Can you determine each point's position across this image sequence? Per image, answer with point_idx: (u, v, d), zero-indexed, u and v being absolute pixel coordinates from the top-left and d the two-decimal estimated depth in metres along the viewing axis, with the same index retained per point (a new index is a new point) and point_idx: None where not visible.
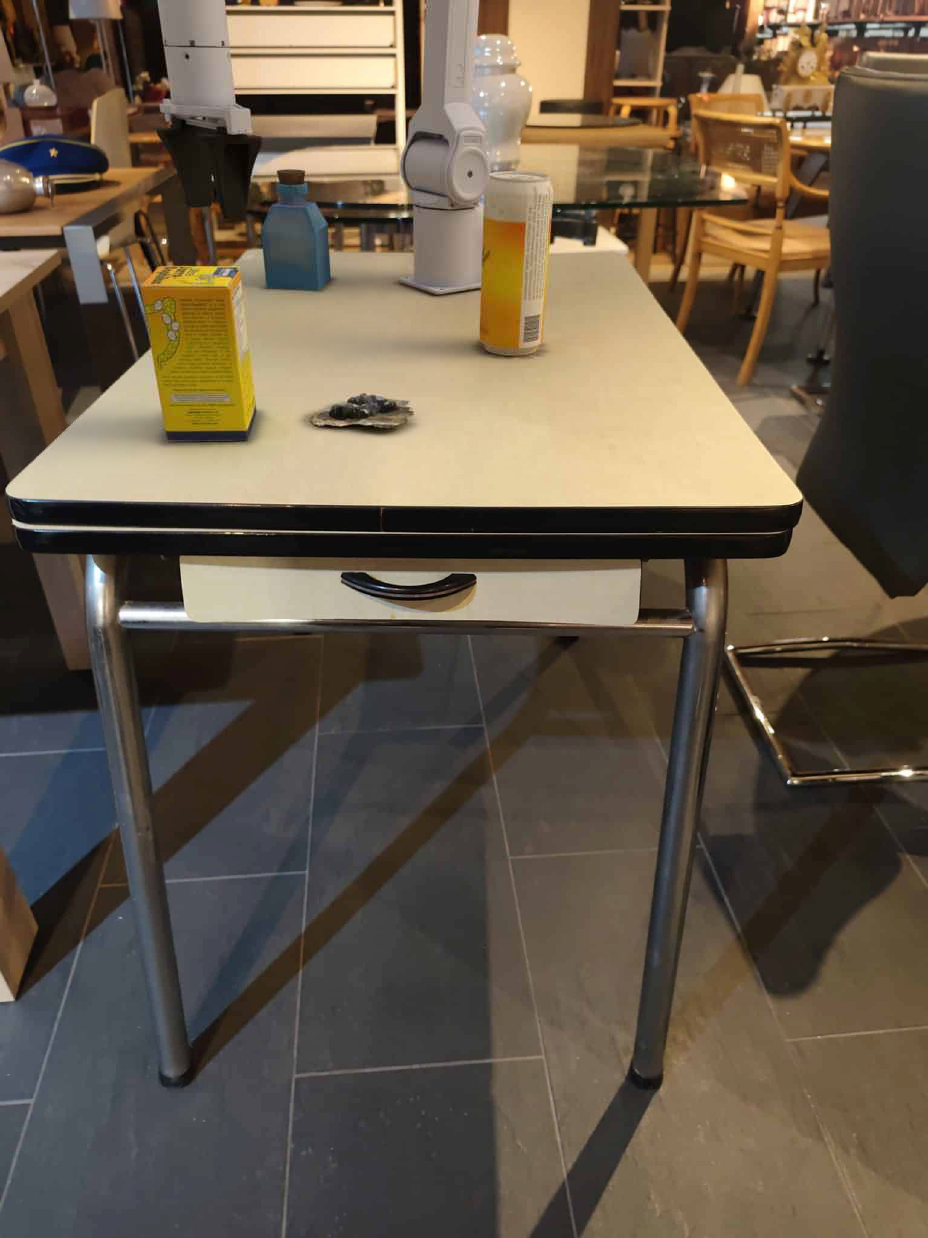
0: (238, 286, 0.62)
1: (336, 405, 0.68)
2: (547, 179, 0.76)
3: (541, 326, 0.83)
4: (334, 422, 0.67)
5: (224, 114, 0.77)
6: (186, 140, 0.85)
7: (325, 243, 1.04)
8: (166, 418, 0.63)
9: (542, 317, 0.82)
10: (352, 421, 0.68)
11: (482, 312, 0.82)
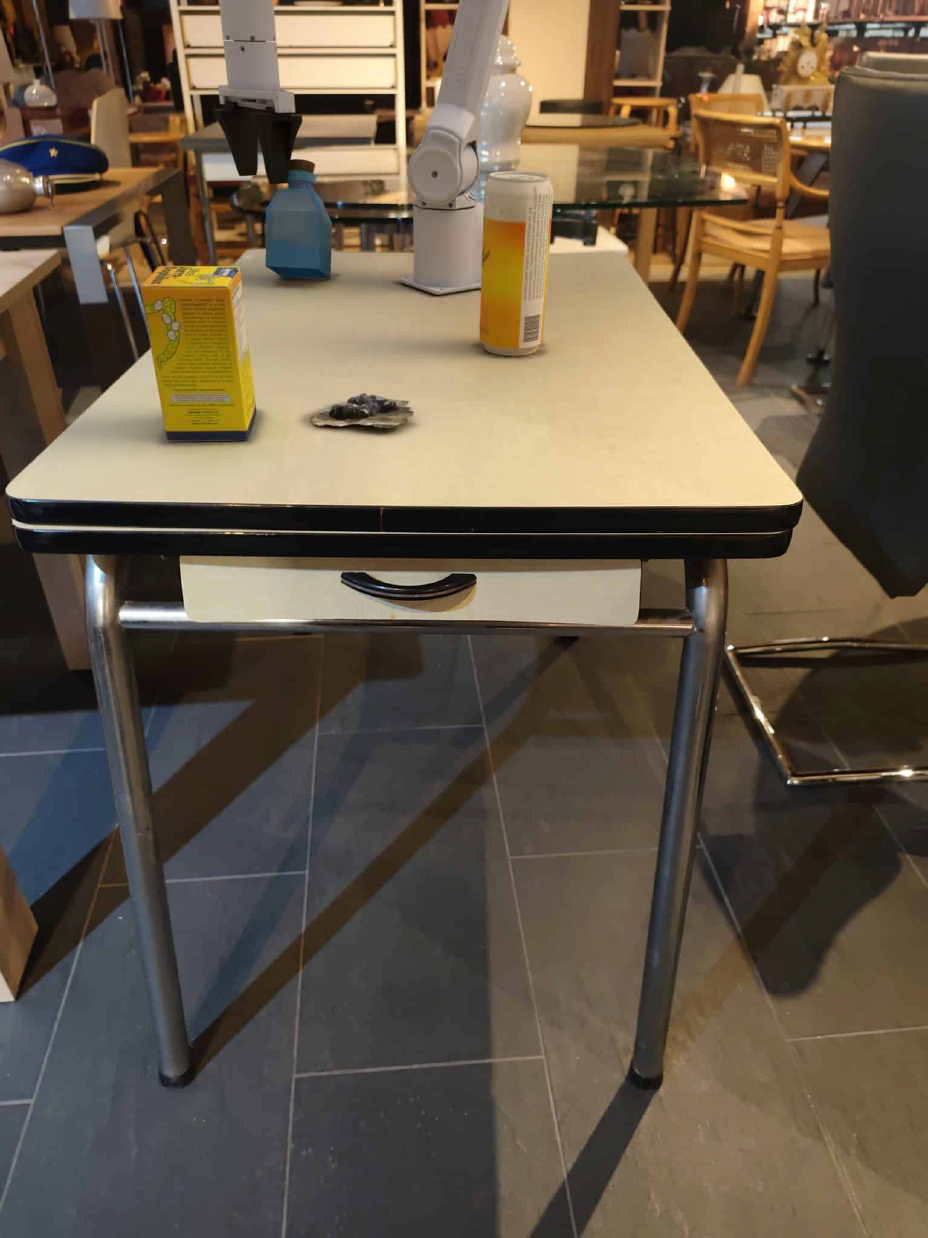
0: (238, 286, 0.62)
1: (336, 405, 0.68)
2: (547, 179, 0.76)
3: (541, 326, 0.83)
4: (334, 422, 0.67)
5: (273, 96, 0.95)
6: (237, 119, 1.03)
7: (328, 237, 1.05)
8: (166, 418, 0.63)
9: (542, 317, 0.82)
10: (352, 421, 0.68)
11: (482, 312, 0.82)
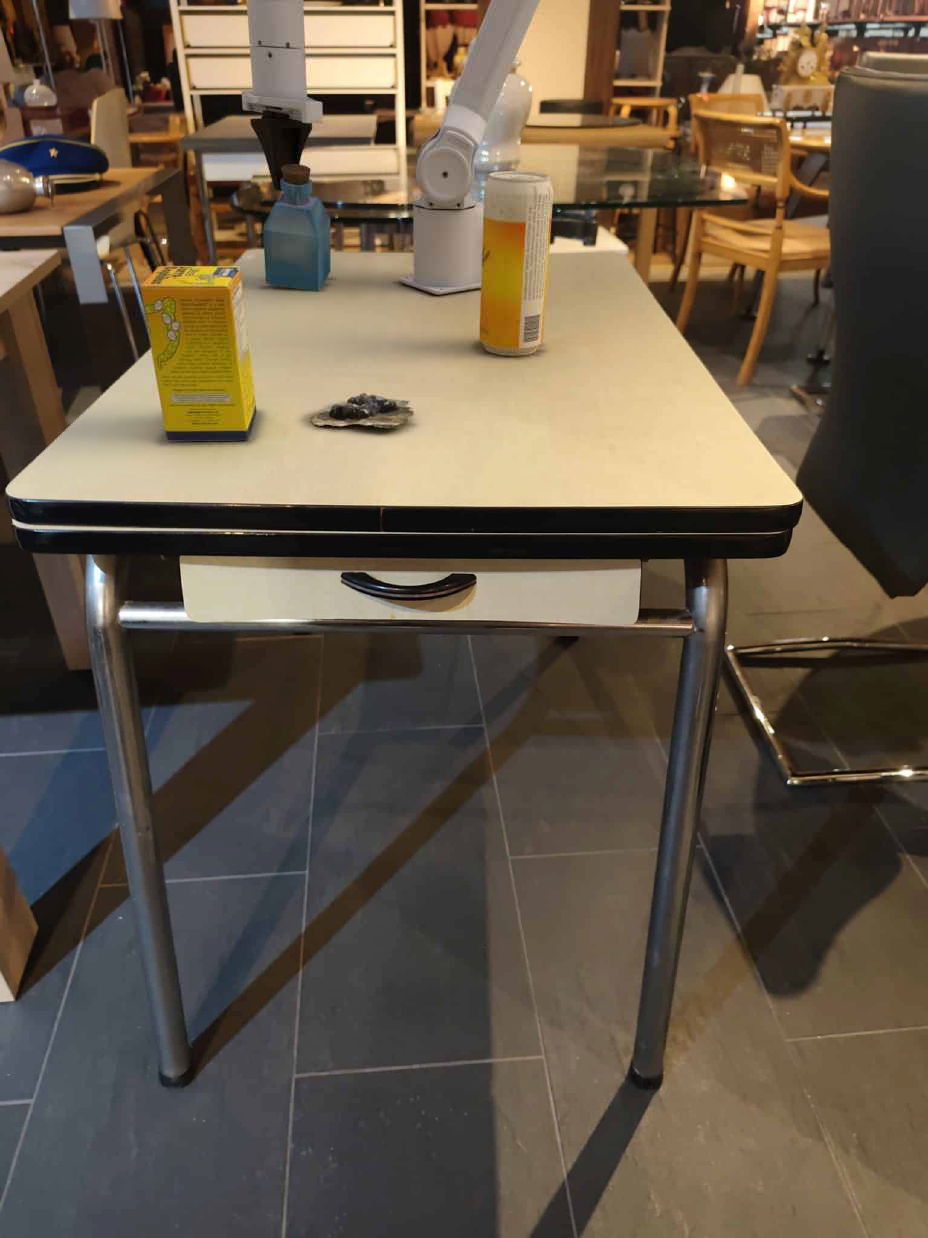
0: (238, 286, 0.62)
1: (336, 405, 0.68)
2: (547, 179, 0.76)
3: (541, 326, 0.83)
4: (334, 422, 0.67)
5: (300, 106, 0.91)
6: None
7: (327, 239, 1.03)
8: (166, 418, 0.63)
9: (542, 317, 0.82)
10: (352, 421, 0.68)
11: (482, 312, 0.82)
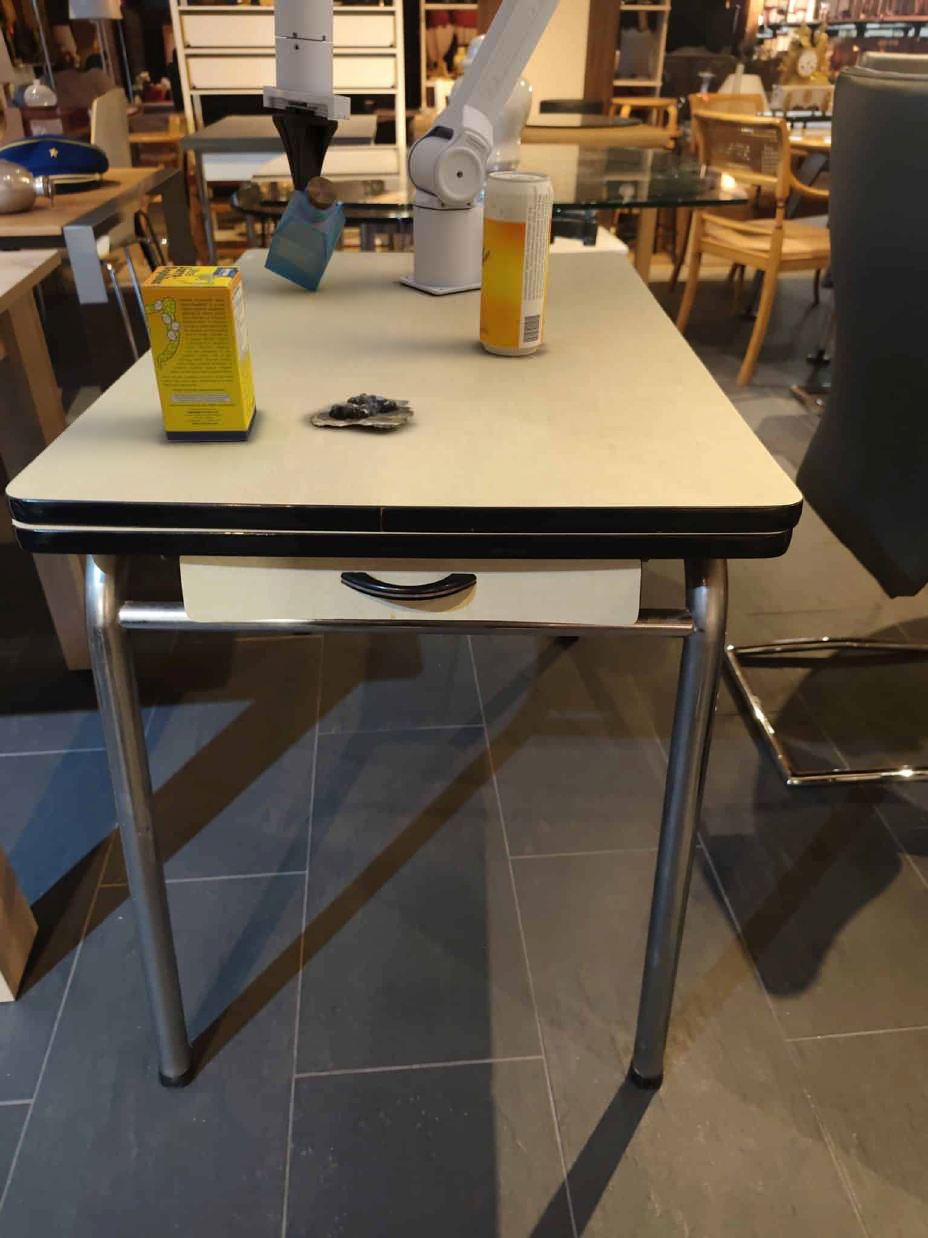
0: (238, 286, 0.62)
1: (336, 405, 0.68)
2: (547, 179, 0.76)
3: (541, 326, 0.83)
4: (334, 422, 0.67)
5: (327, 100, 0.86)
6: None
7: None
8: (166, 418, 0.63)
9: (542, 317, 0.82)
10: (352, 421, 0.68)
11: (482, 312, 0.82)
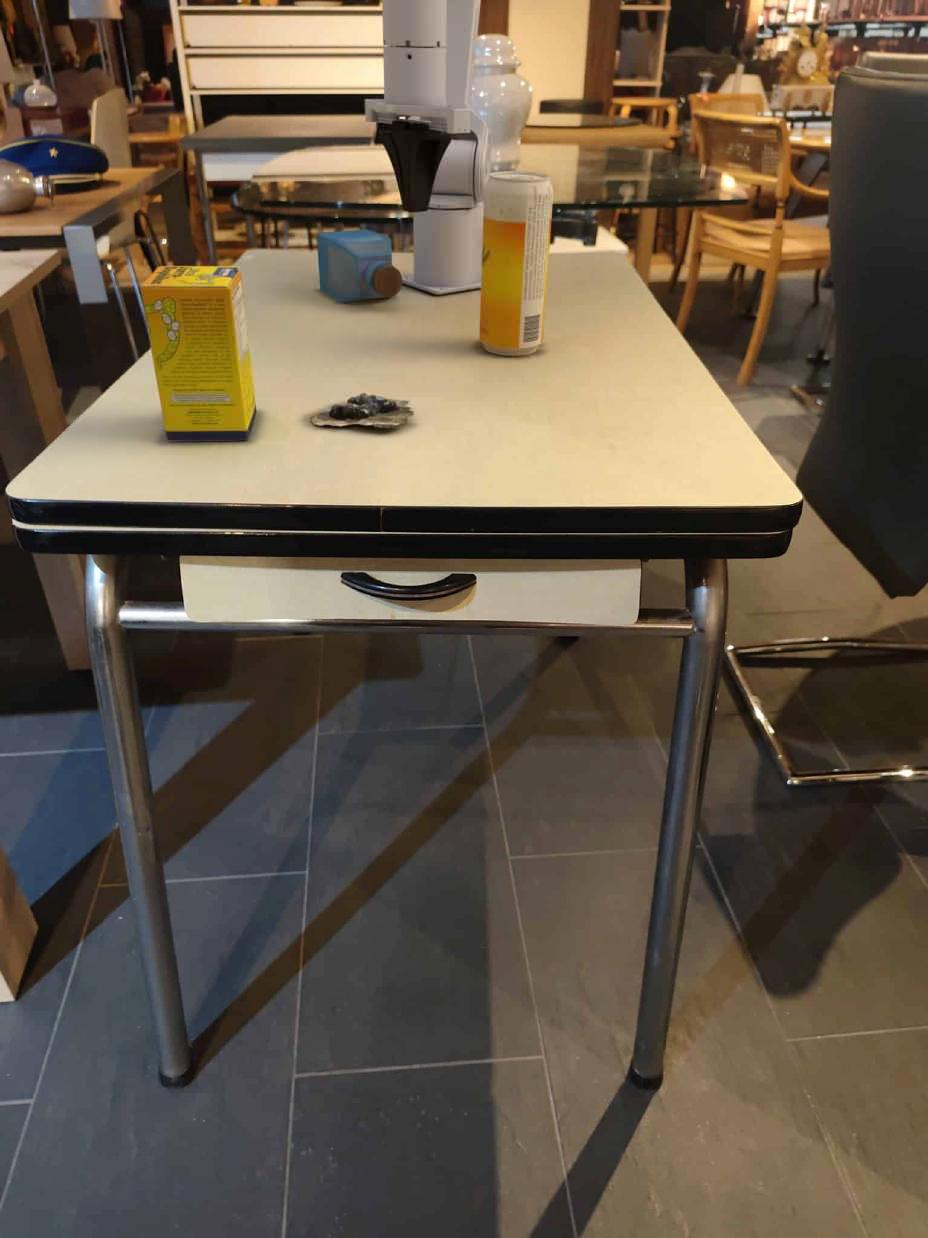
0: (238, 286, 0.62)
1: (336, 405, 0.68)
2: (547, 179, 0.76)
3: (541, 326, 0.83)
4: (334, 422, 0.67)
5: (446, 113, 0.78)
6: None
7: None
8: (166, 418, 0.63)
9: (542, 317, 0.82)
10: (352, 421, 0.68)
11: (482, 312, 0.82)
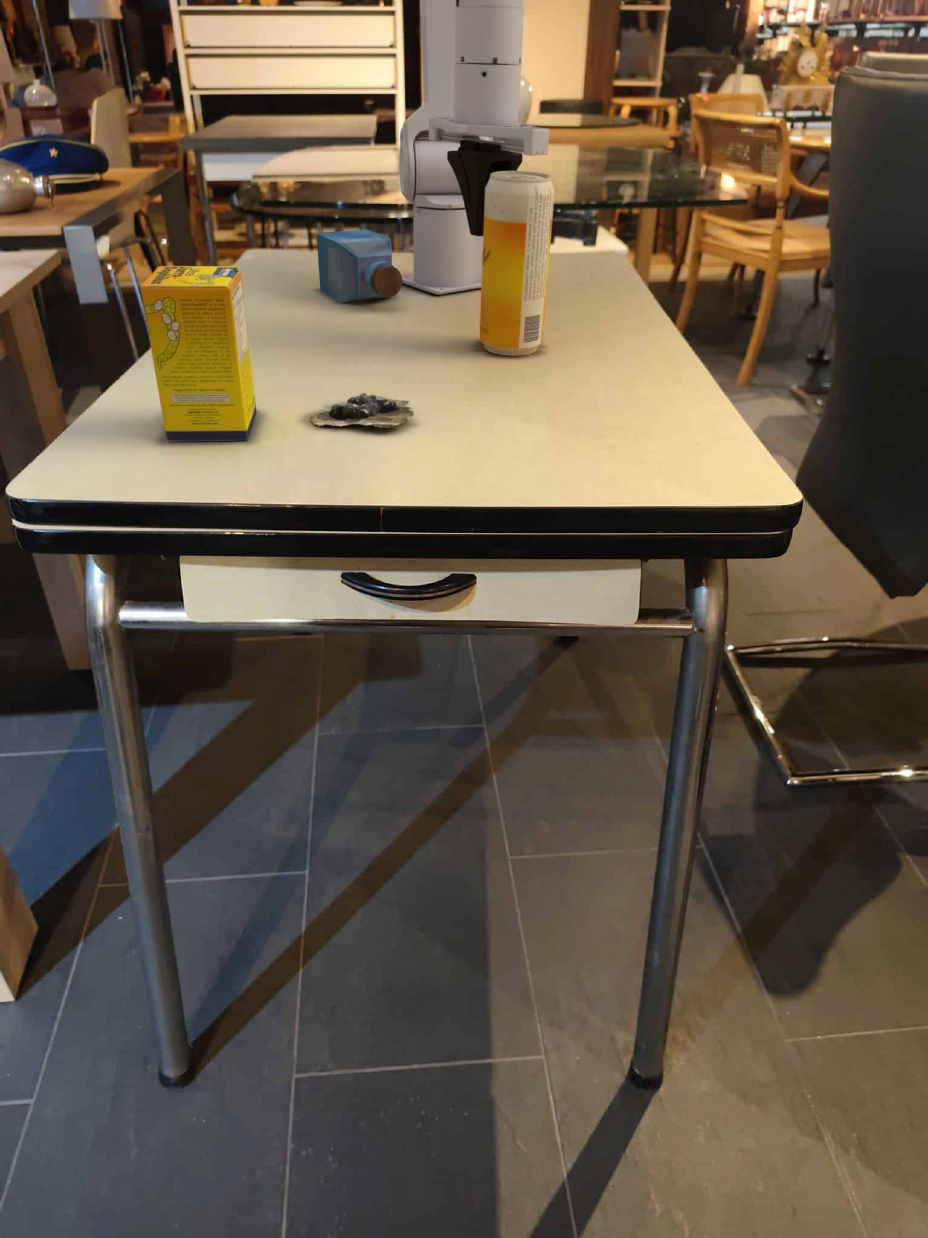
0: (238, 286, 0.62)
1: (336, 405, 0.68)
2: (548, 179, 0.76)
3: (541, 326, 0.83)
4: (334, 422, 0.67)
5: (523, 135, 0.74)
6: None
7: None
8: (166, 418, 0.63)
9: (542, 317, 0.82)
10: (352, 421, 0.68)
11: (482, 312, 0.82)
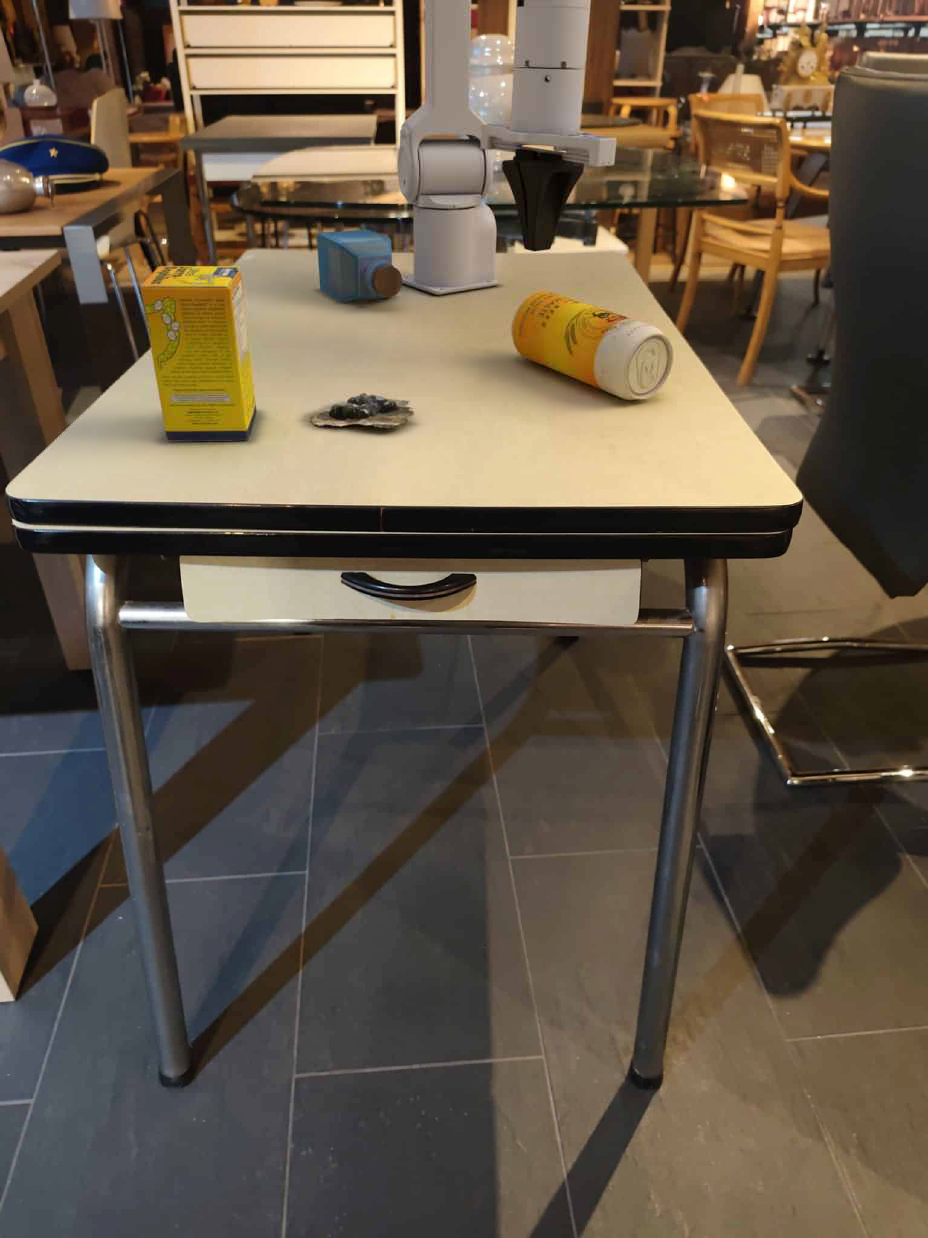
0: (238, 286, 0.62)
1: (336, 405, 0.68)
2: (655, 391, 0.73)
3: None
4: (334, 422, 0.67)
5: (589, 144, 0.69)
6: None
7: None
8: (166, 418, 0.63)
9: None
10: (352, 421, 0.68)
11: (532, 328, 0.77)
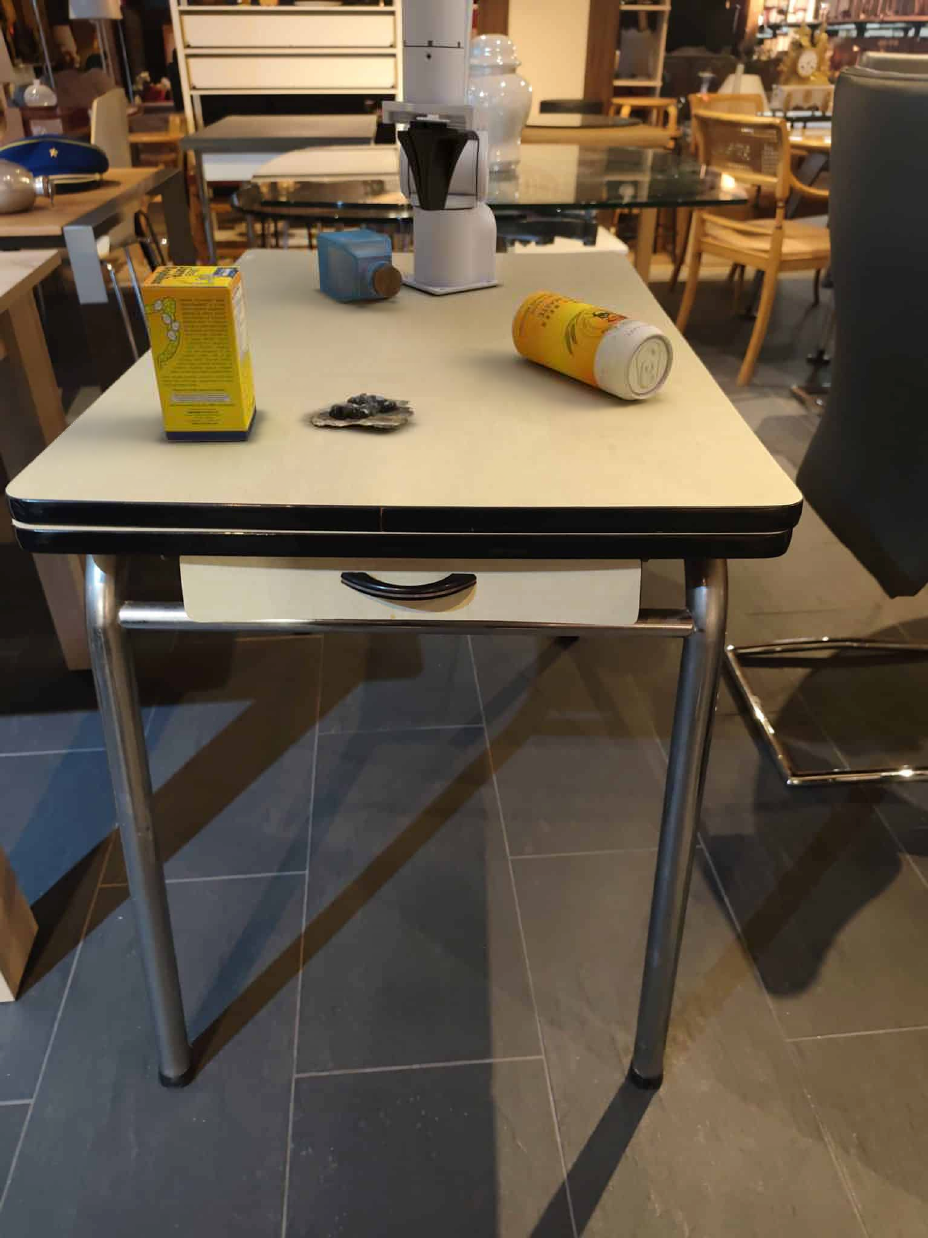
0: (238, 286, 0.62)
1: (336, 405, 0.68)
2: (655, 391, 0.73)
3: None
4: (334, 422, 0.67)
5: (465, 111, 0.79)
6: None
7: None
8: (166, 418, 0.63)
9: None
10: (352, 421, 0.68)
11: (532, 328, 0.77)
